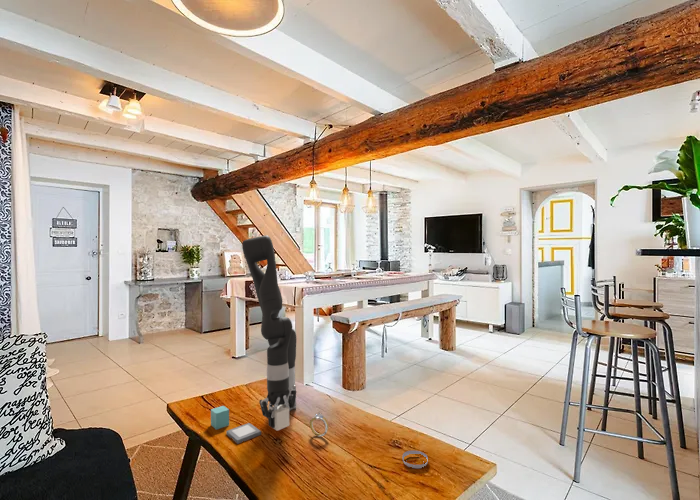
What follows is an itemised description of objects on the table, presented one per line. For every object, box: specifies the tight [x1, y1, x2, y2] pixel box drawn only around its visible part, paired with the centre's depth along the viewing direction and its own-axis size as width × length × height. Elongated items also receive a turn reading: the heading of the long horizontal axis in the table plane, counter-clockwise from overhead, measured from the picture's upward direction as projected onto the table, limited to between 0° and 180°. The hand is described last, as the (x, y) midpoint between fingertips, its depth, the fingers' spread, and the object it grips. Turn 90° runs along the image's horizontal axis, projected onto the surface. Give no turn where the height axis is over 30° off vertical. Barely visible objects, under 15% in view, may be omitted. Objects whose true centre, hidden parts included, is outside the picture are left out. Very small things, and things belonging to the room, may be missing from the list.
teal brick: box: [210, 405, 230, 430], centre depth 137 cm, size 5×5×6 cm
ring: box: [309, 412, 329, 438], centre depth 128 cm, size 7×3×8 cm, turn 61°
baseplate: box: [225, 422, 262, 445], centre depth 130 cm, size 9×9×1 cm
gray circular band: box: [401, 450, 429, 469], centre depth 111 cm, size 8×8×2 cm
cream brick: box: [271, 405, 290, 431], centre depth 125 cm, size 5×5×6 cm
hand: (279, 424), depth 125 cm, fingers closed on cream brick, 5 cm apart
